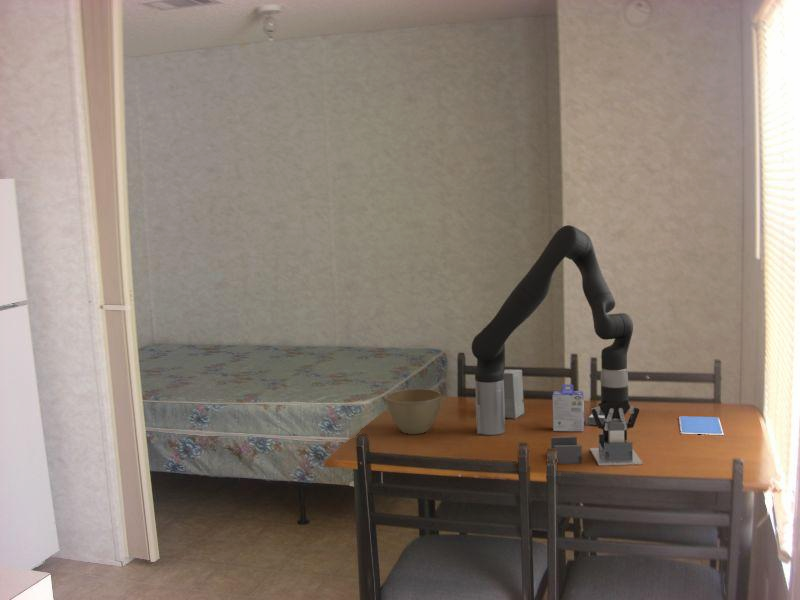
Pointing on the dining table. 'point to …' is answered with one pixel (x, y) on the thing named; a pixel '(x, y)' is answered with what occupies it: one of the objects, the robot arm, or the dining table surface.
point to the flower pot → (414, 409)
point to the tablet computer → (700, 425)
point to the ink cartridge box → (568, 410)
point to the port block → (615, 453)
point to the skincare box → (513, 393)
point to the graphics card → (591, 420)
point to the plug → (616, 431)
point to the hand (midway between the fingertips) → (615, 441)
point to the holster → (567, 449)
